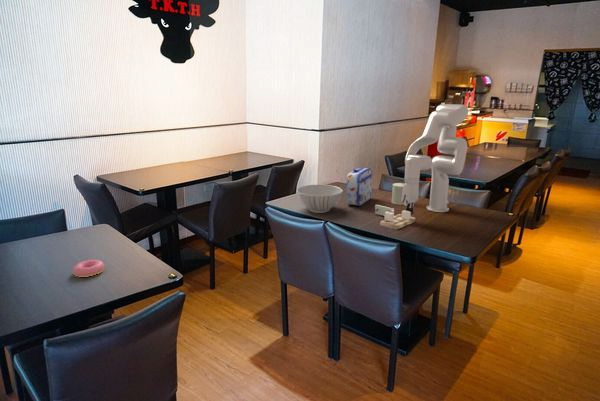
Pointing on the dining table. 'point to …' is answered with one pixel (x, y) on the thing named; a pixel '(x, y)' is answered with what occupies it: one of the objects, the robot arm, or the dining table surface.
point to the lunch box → (359, 186)
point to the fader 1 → (389, 216)
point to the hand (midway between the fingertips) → (409, 214)
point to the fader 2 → (406, 215)
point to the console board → (397, 222)
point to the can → (397, 193)
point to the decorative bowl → (319, 197)
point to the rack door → (382, 210)
